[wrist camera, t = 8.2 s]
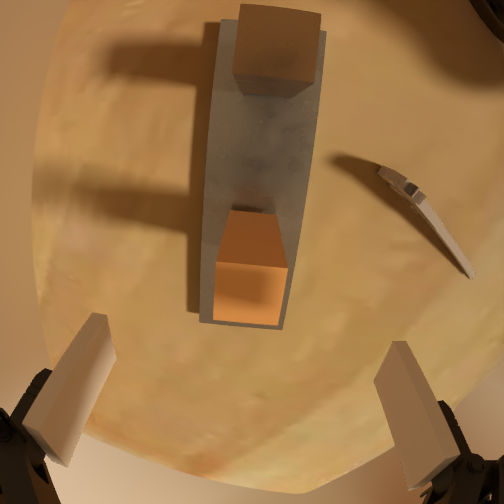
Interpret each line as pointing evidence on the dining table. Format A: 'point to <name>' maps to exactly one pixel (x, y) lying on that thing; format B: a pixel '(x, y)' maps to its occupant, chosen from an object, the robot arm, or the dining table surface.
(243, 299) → the slide leg
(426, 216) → the caliper
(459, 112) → the dining table surface
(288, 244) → the bar
